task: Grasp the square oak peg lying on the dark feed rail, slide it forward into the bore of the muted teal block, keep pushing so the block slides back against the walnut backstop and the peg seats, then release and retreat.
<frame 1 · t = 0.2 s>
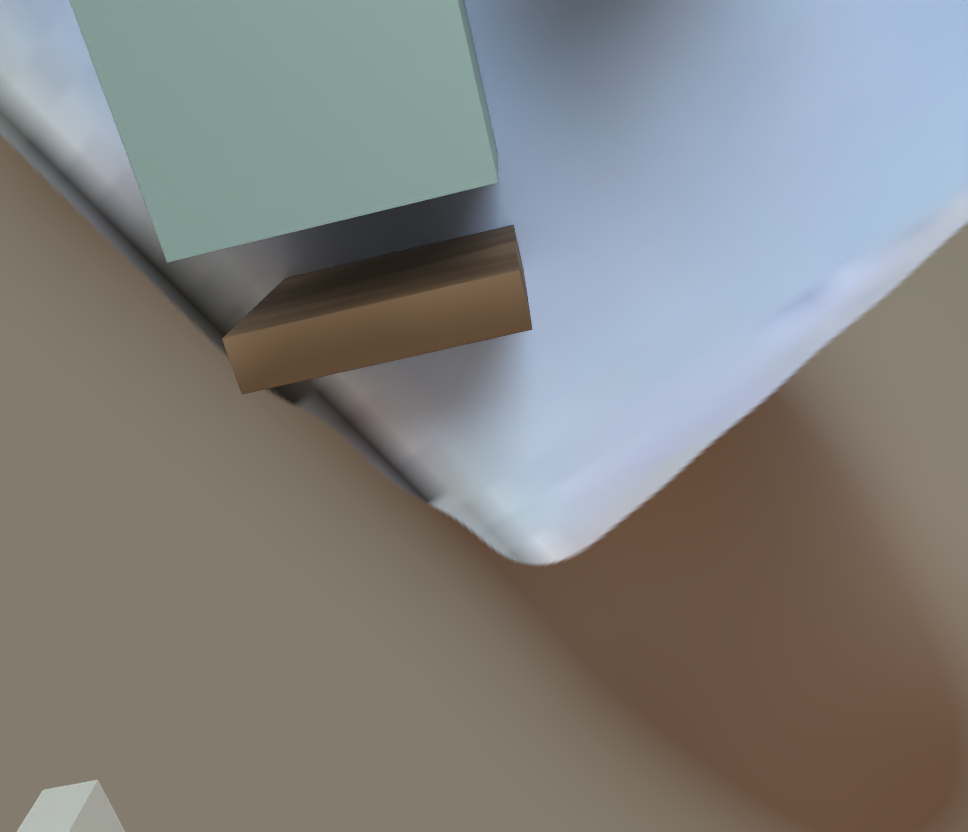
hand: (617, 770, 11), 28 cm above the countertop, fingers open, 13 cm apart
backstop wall: (403, 275, 36), on the countertop
bore block: (323, 78, 28), point 6 cm above the countertop, slide at 0.0 cm
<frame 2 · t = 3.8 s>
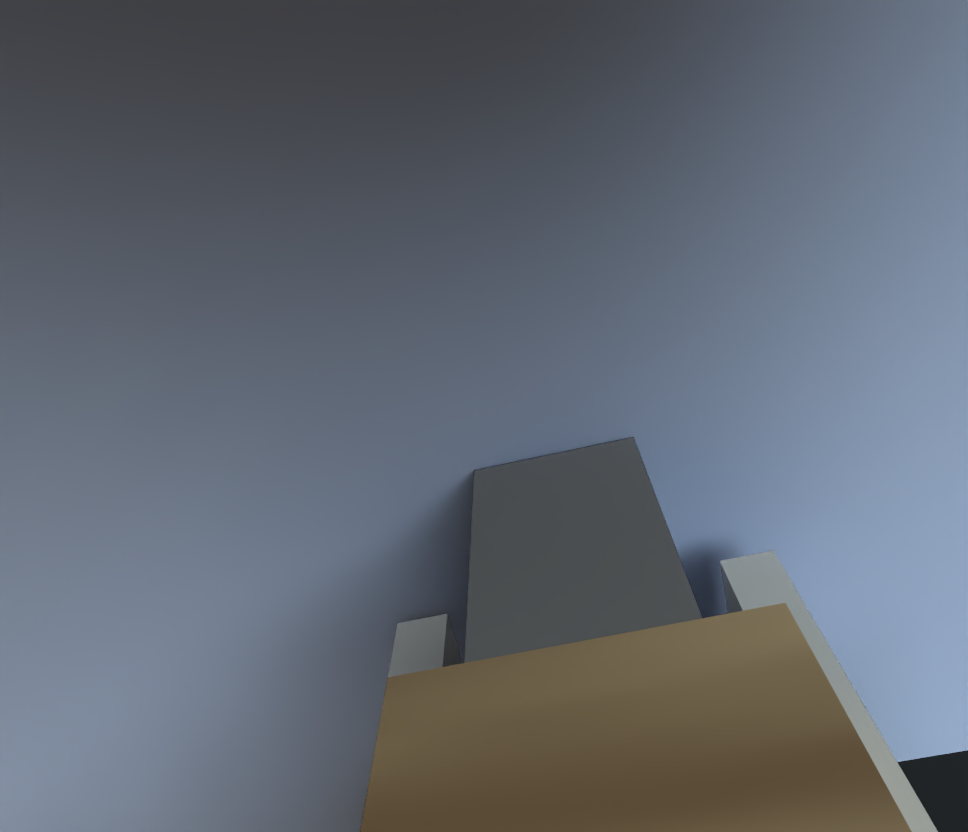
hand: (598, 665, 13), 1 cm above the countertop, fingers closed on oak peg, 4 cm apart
feed rail: (637, 825, 15), on the countertop
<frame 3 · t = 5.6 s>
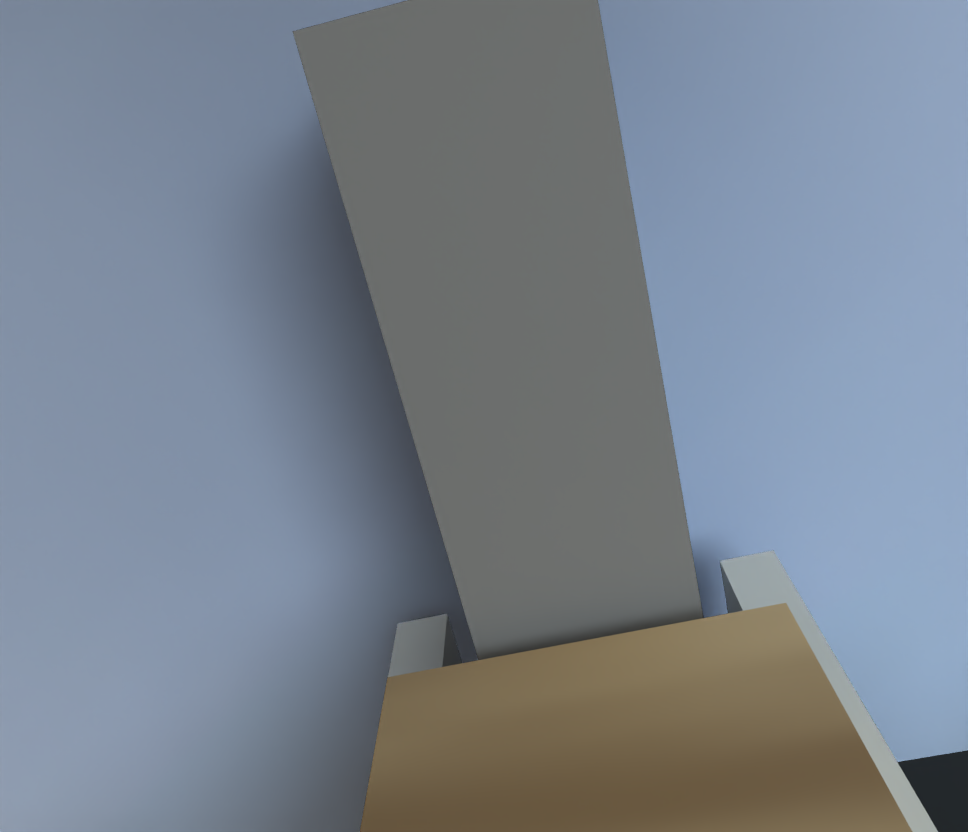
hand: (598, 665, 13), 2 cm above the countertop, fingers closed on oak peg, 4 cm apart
feed rail: (574, 525, 14), on the countertop
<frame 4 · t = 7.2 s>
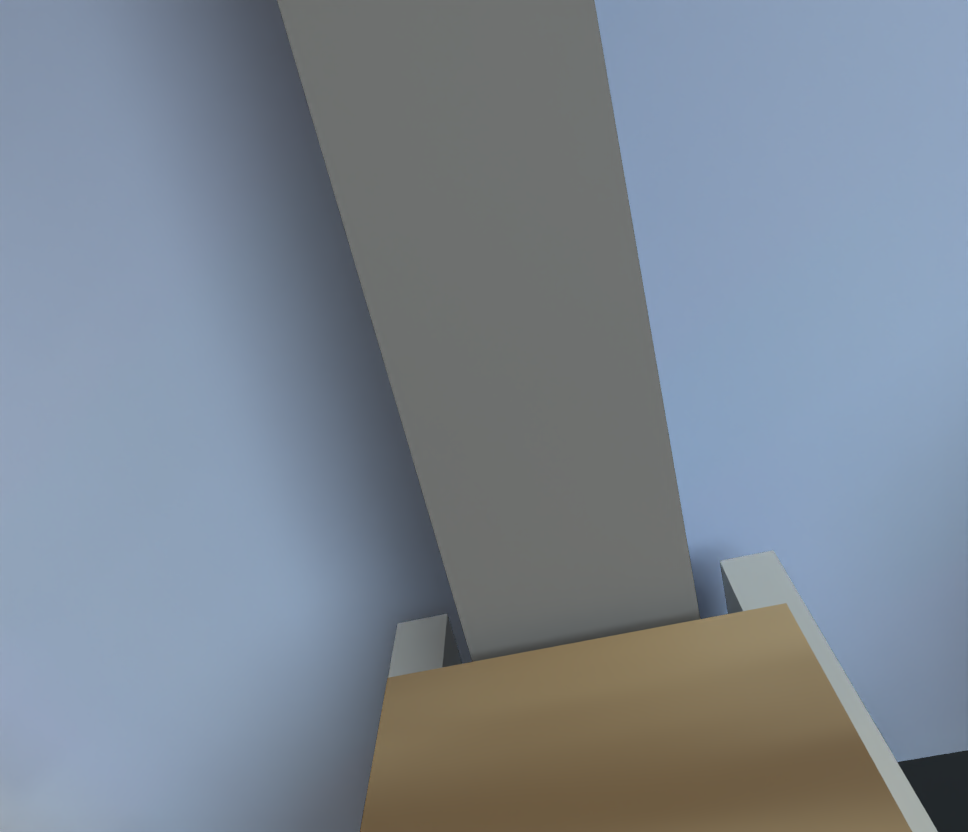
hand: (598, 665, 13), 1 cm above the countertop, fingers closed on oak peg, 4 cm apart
feed rail: (484, 142, 11), on the countertop
when the fingers open (1 cm above the countertop, at t = 8.2 s): oak peg stays where it is, resting on bore block, feed rail.
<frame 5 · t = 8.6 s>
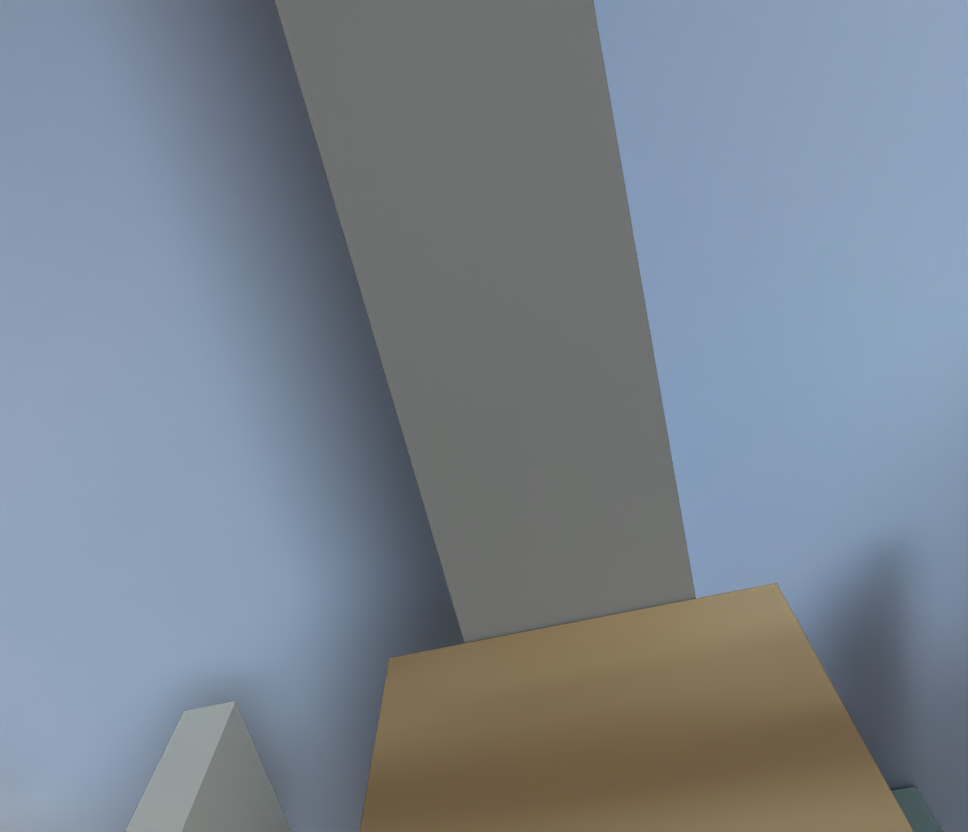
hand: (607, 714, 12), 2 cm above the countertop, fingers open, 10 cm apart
feed rail: (482, 142, 11), on the countertop
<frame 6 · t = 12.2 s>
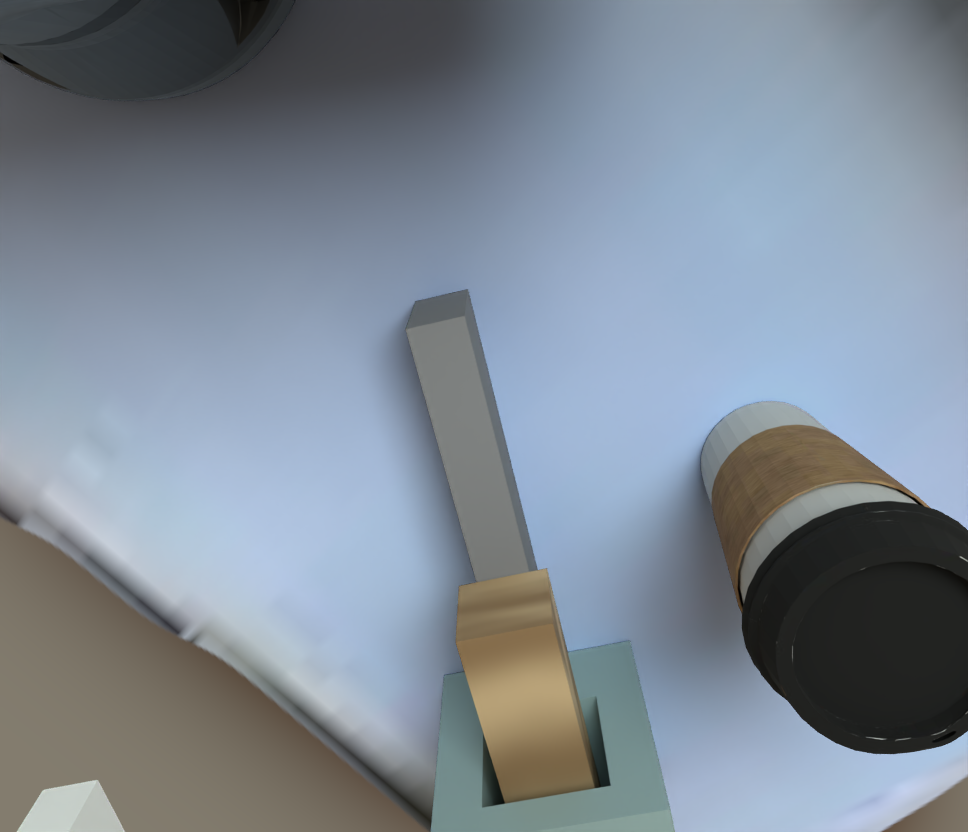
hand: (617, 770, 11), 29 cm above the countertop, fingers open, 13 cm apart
feed rail: (480, 446, 40), on the countertop
oak peg: (536, 699, 40), point 4 cm above the countertop, touching bore block, feed rail
coffee cup: (761, 456, 41), on the countertop
bore block: (558, 796, 41), point 6 cm above the countertop, slide at 3.0 cm, touching oak peg
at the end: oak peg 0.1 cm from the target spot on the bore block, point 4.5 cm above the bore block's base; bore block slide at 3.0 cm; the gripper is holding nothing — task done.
